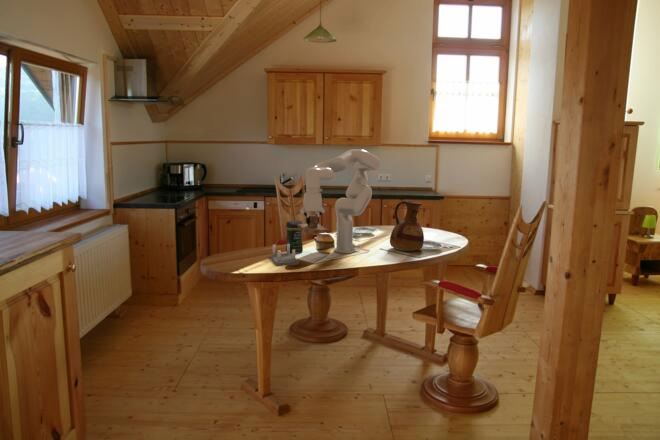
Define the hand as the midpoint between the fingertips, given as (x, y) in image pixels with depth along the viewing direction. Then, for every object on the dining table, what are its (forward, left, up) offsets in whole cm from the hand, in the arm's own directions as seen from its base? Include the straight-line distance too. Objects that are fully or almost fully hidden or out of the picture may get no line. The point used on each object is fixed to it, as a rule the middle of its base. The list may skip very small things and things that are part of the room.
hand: (312, 223), depth 285 cm
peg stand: (+16, 0, -20) cm, 25 cm away
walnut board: (0, 0, -3) cm, 3 cm away
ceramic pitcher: (-60, -7, -20) cm, 64 cm away
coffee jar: (+6, -18, -20) cm, 28 cm away
